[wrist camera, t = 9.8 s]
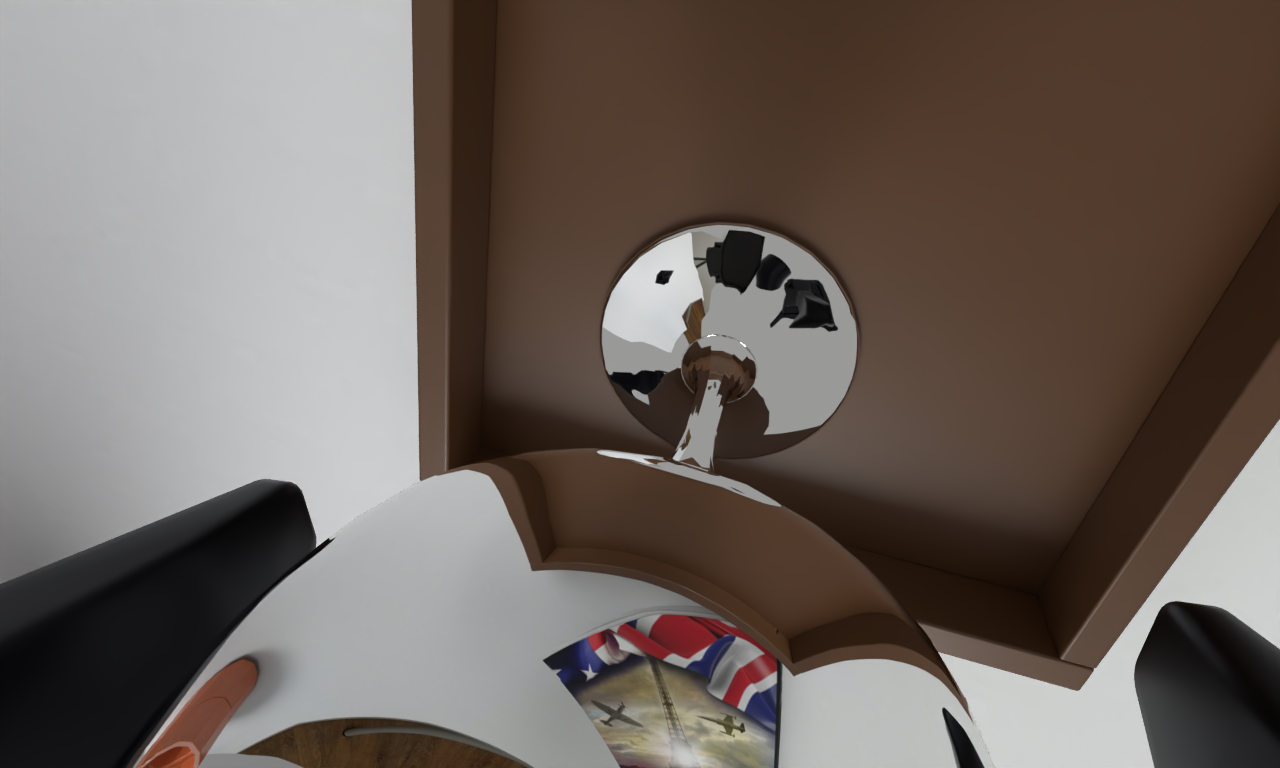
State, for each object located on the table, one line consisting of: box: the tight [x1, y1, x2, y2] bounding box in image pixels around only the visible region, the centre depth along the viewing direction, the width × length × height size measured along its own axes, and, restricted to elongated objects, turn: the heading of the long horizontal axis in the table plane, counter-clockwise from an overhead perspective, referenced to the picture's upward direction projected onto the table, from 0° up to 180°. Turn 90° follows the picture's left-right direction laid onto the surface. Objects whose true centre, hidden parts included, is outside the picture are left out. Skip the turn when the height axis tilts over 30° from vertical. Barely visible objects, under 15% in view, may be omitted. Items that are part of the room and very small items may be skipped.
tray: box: [412, 0, 1280, 691], centre depth 10 cm, size 13×12×2 cm
